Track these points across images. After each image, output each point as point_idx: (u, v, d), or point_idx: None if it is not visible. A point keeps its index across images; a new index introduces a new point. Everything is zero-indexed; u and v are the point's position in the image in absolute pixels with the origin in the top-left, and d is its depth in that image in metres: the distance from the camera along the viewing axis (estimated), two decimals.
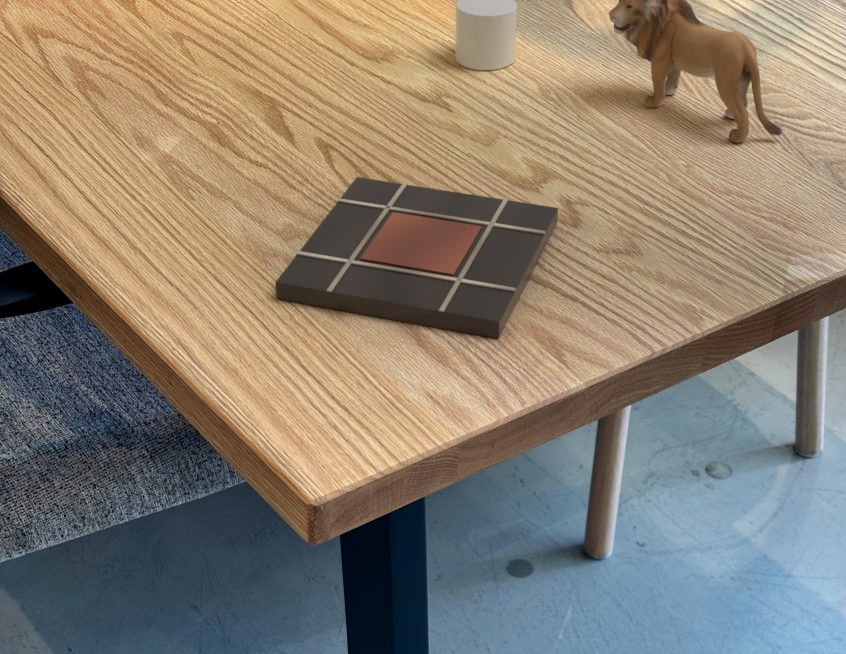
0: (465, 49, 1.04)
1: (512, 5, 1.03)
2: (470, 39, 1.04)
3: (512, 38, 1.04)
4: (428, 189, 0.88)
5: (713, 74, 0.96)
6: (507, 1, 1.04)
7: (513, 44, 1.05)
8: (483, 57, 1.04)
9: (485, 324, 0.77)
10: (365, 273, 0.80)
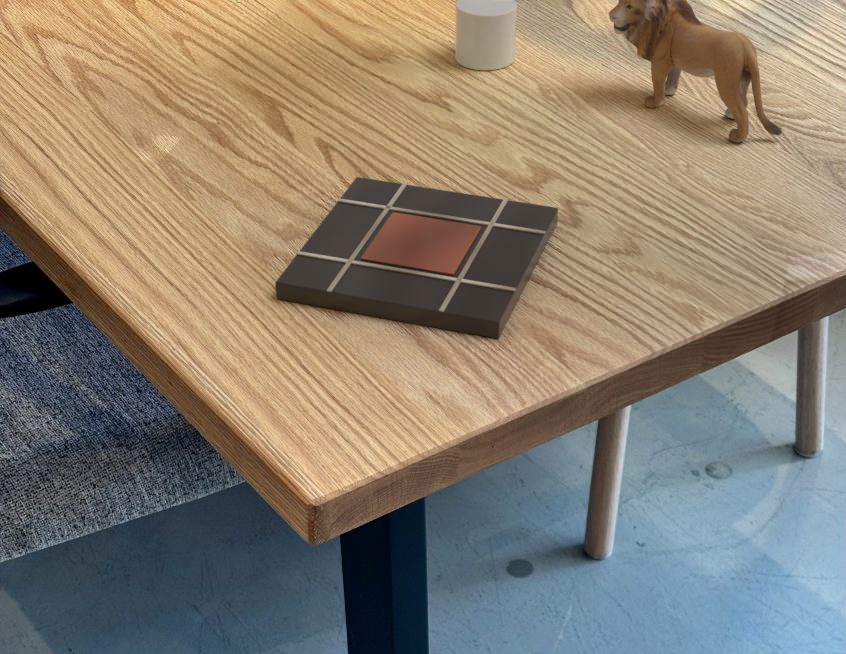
0: (465, 49, 1.04)
1: (512, 5, 1.03)
2: (470, 39, 1.04)
3: (512, 38, 1.04)
4: (428, 189, 0.88)
5: (713, 74, 0.96)
6: (507, 1, 1.04)
7: (513, 44, 1.05)
8: (483, 57, 1.04)
9: (485, 324, 0.77)
10: (365, 273, 0.80)
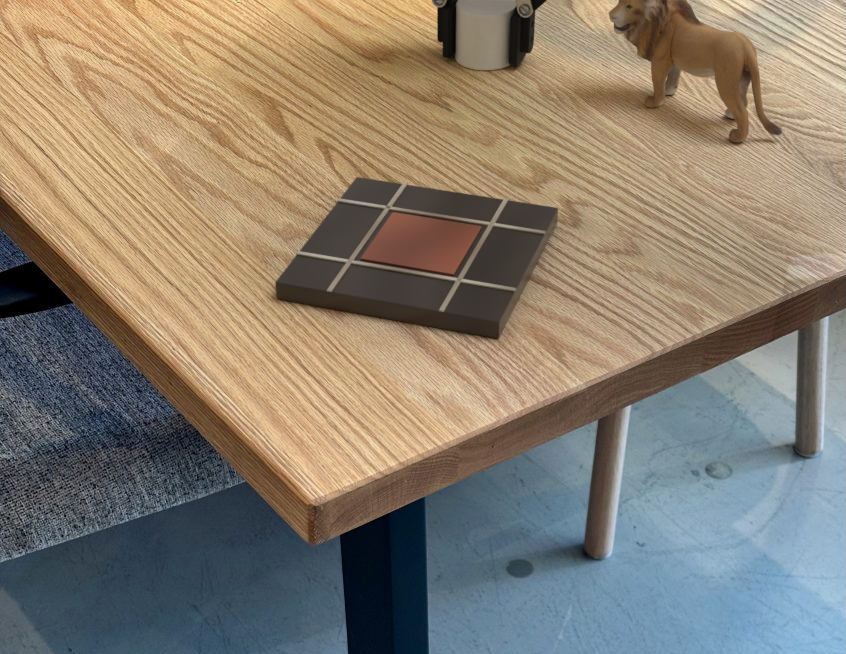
0: (465, 49, 1.04)
1: (512, 5, 1.03)
2: (470, 39, 1.04)
3: None
4: (428, 189, 0.88)
5: (713, 74, 0.96)
6: (507, 1, 1.04)
7: None
8: (483, 57, 1.04)
9: (485, 324, 0.77)
10: (365, 273, 0.80)
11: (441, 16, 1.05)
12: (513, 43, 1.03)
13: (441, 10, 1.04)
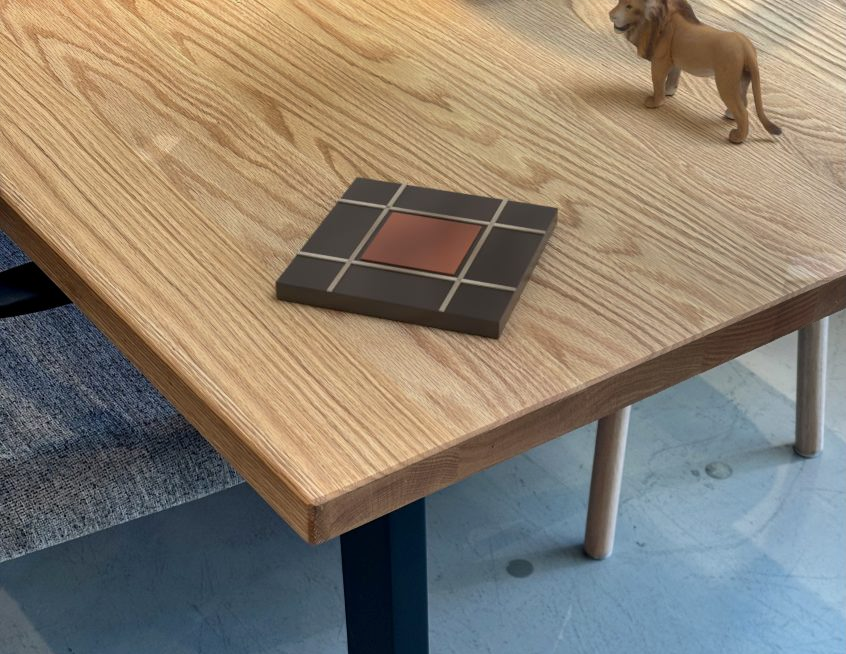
0: None
1: None
2: None
3: None
4: (428, 189, 0.88)
5: (713, 74, 0.96)
6: None
7: None
8: None
9: (485, 324, 0.77)
10: (365, 273, 0.80)
11: None
12: None
13: None
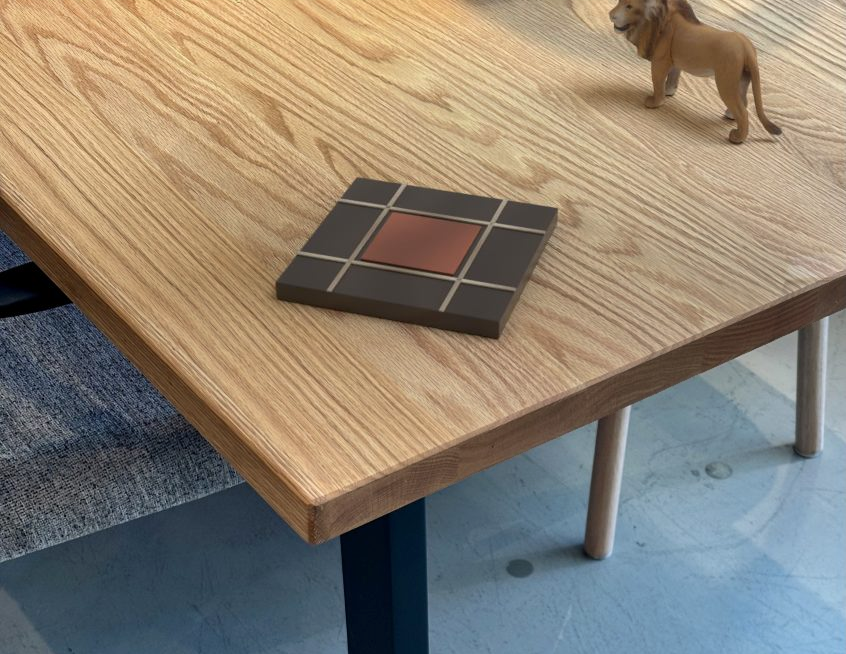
0: None
1: None
2: None
3: None
4: (428, 189, 0.88)
5: (713, 74, 0.96)
6: None
7: None
8: None
9: (485, 324, 0.77)
10: (365, 273, 0.80)
11: None
12: None
13: None
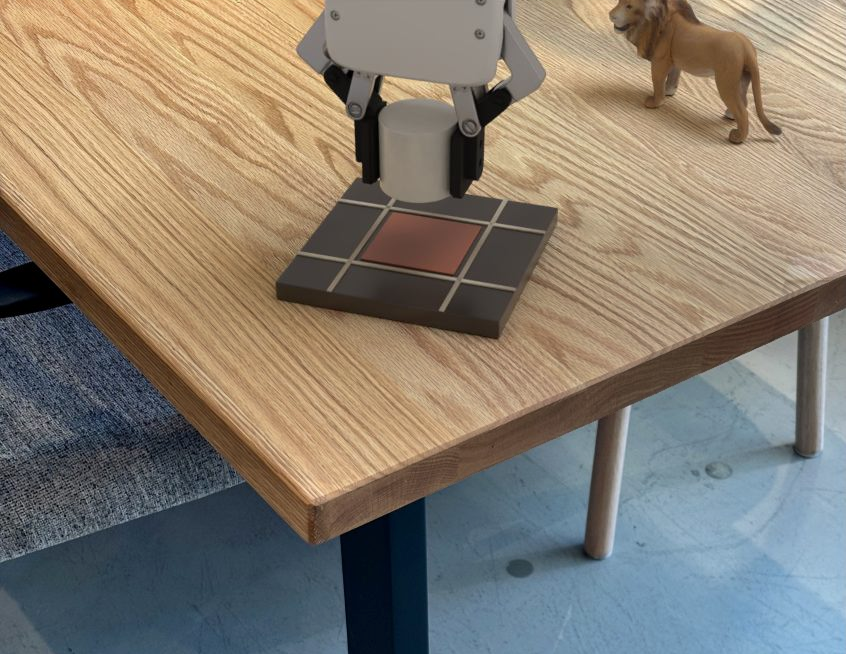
0: (391, 175, 0.78)
1: (454, 118, 0.77)
2: (397, 163, 0.77)
3: None
4: None
5: (713, 74, 0.96)
6: (447, 112, 0.77)
7: None
8: (415, 187, 0.78)
9: (485, 324, 0.77)
10: (365, 273, 0.80)
11: (359, 130, 0.78)
12: (455, 169, 0.77)
13: (359, 123, 0.78)
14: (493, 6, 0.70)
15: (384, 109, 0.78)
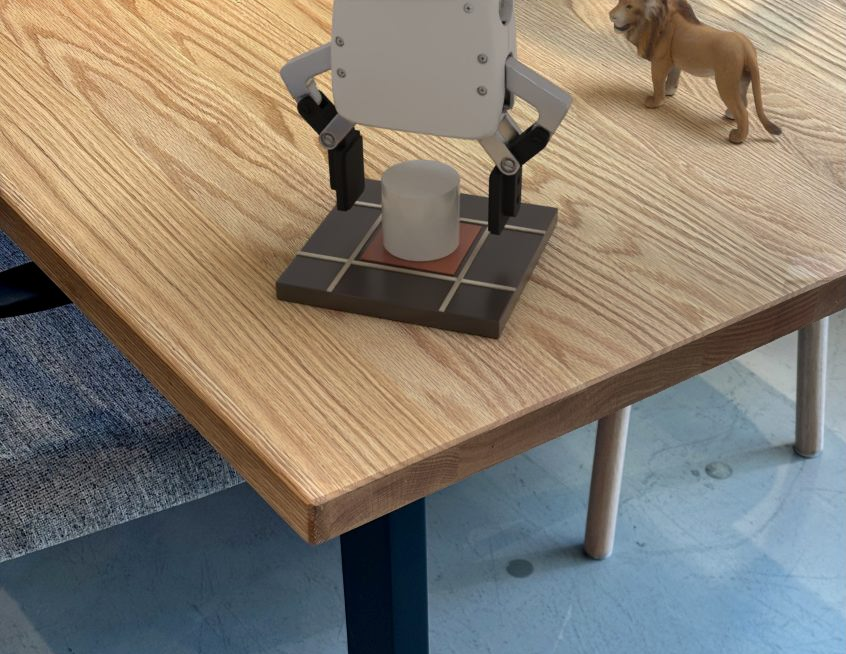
0: (394, 235, 0.80)
1: (454, 180, 0.79)
2: (400, 224, 0.80)
3: (455, 221, 0.80)
4: None
5: (713, 74, 0.96)
6: (448, 173, 0.80)
7: (456, 227, 0.81)
8: (417, 246, 0.80)
9: (485, 324, 0.77)
10: (365, 273, 0.80)
11: (333, 159, 0.80)
12: (493, 206, 0.78)
13: (333, 152, 0.80)
14: (494, 64, 0.72)
15: (387, 171, 0.80)
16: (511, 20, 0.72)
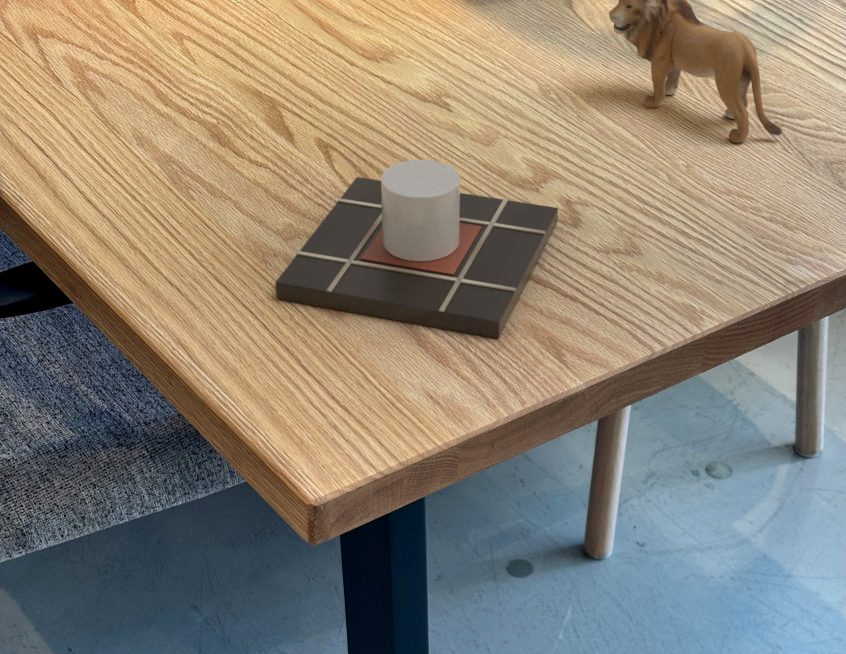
0: (394, 235, 0.80)
1: (454, 180, 0.79)
2: (400, 224, 0.80)
3: (455, 221, 0.80)
4: None
5: (713, 74, 0.96)
6: (448, 173, 0.80)
7: (456, 227, 0.81)
8: (417, 246, 0.80)
9: (485, 324, 0.77)
10: (365, 273, 0.80)
11: None
12: None
13: None
14: None
15: (387, 171, 0.80)
16: None
